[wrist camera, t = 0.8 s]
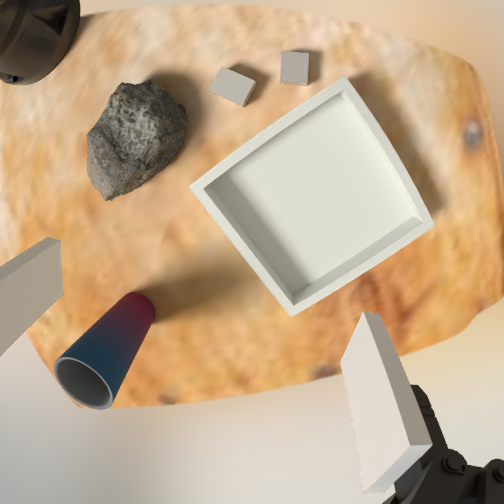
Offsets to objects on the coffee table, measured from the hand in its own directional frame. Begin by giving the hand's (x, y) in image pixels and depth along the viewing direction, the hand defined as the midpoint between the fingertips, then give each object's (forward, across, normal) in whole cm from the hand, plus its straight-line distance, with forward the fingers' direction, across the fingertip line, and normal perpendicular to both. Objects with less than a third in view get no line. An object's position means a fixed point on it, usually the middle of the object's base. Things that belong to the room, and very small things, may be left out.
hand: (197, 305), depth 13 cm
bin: (+22, +7, +1) cm, 23 cm away
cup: (+22, -11, -18) cm, 31 cm away
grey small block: (+23, -4, +10) cm, 25 cm away
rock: (+23, -12, +3) cm, 26 cm away
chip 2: (+23, +2, +14) cm, 27 cm away
